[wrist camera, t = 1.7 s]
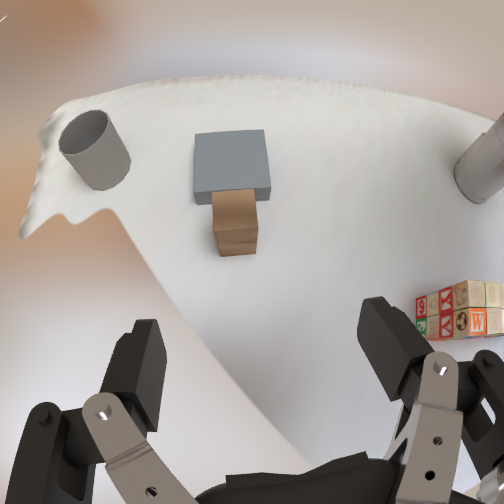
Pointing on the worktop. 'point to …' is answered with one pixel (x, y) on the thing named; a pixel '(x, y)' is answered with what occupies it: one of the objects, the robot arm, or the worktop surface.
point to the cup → (95, 150)
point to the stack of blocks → (462, 312)
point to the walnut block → (235, 222)
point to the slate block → (231, 164)
